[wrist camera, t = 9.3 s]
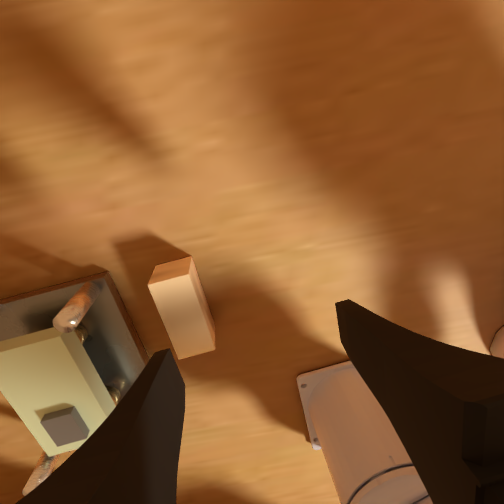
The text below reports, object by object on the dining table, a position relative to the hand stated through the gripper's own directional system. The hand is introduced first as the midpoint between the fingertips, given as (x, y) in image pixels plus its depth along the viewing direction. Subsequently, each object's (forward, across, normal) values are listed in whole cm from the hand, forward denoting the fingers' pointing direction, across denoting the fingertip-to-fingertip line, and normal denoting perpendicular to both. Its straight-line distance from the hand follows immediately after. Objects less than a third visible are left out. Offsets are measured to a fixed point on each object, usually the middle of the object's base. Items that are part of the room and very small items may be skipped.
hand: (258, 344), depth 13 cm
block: (+10, +4, +2) cm, 11 cm away
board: (+7, +14, +5) cm, 17 cm away
